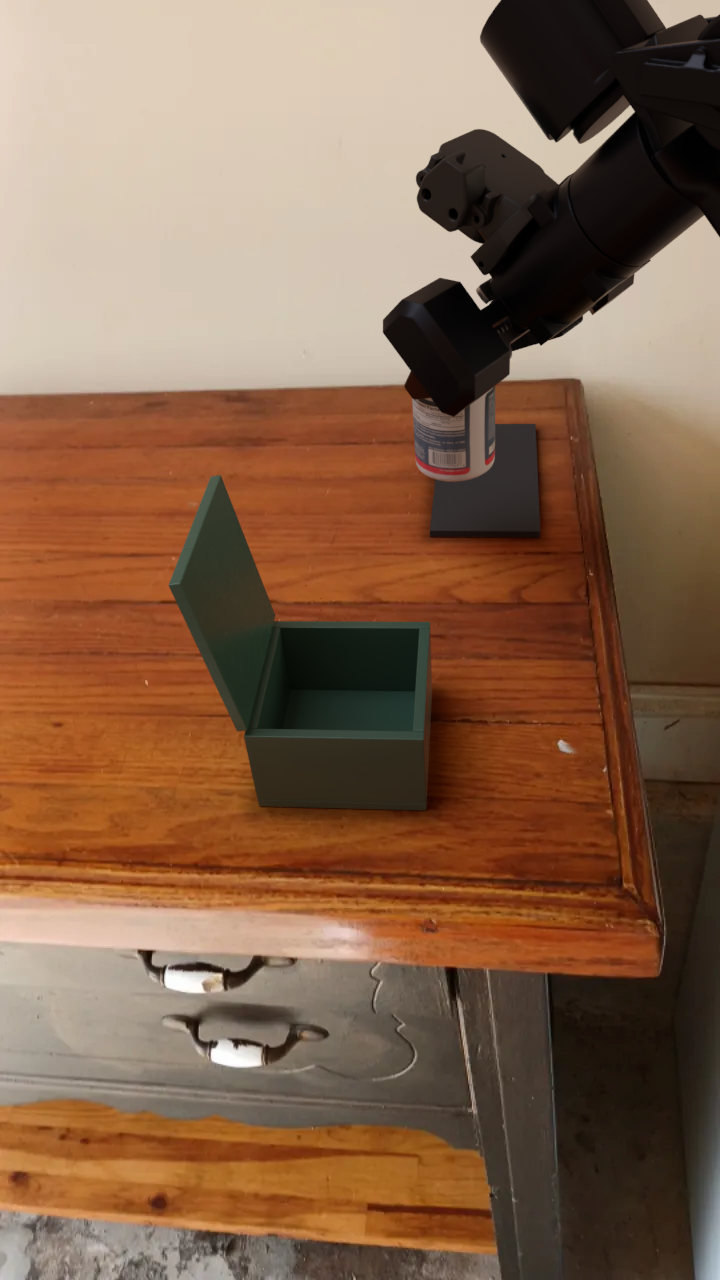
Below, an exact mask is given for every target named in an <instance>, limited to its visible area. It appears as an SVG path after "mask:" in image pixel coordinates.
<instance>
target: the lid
mask: <svg viewBox="0 0 720 1280" xmlns="http://www.w3.org/2000/svg"><path fill="white" fill-rule="evenodd" d="M168 588H169V589H170V592H171V594H172V596H173V598H174V600H175V603H176V605H177V606H178V607H177V608H178V609H179V612H180V613H181V615H182V618H183V619H184V621H185V624H186V626H187V629H188V630H189V632H190V635H191V637H192V639H193V641H194V643H195V645H196V647H197V649H198V651H199V654H200V655H201V658H202V660H203V662H204V665H205V666H206V668H207V670H208V673H209V675H210V677H211V679H212V682H213V683H214V686H215V687H216V690H217V692H218V694H219V696H220V698H221V700H222V703H223V705H224V707H225V710H226V711H227V713H228V715H229V717H230V720H231V722H232V724H233V726H234V728H235V730H236V732H245V731H247V730H248V726H249V722H250V718H251V714H252V710H253V705H254V701H255V697H256V693H257V689H258V685H259V681H260V677H261V673H262V668H263V664H264V660H265V656H266V652H267V648H268V644H269V640H270V636H271V632H272V627H273V623H274V621H275V619H276V614H275V611H274V608H273V605H272V603H271V600H270V597H269V595H268V593H267V590H266V587H265V585H264V583H263V580H262V577H261V575H260V572H259V569H258V567H257V564H256V562H255V560H254V556H253V554H252V551H251V549H250V546H249V544H248V541H247V539H246V536H245V533H244V531H243V528H242V525H241V524H240V521H239V519H238V515H237V514H236V510H235V507H234V505H233V503H232V500H231V497H230V495H229V492H228V490H227V487H226V485H225V482H224V480H223V477H222V475H221V474H219V475H212V476H210V477H209V480H208V483H207V485H206V488H205V490H204V492H203V495H202V498H201V500H200V503H199V505H198V508H197V510H196V513H195V516H194V518H193V521H192V524H191V526H190V529H189V531H188V533H187V536H186V539H185V542H184V544H183V547H182V549H181V551H180V553H179V556H178V560H177V562H176V565H175V567H174V569H173V572H172V574H171V577H170V580H169V582H168Z"/></svg>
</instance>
